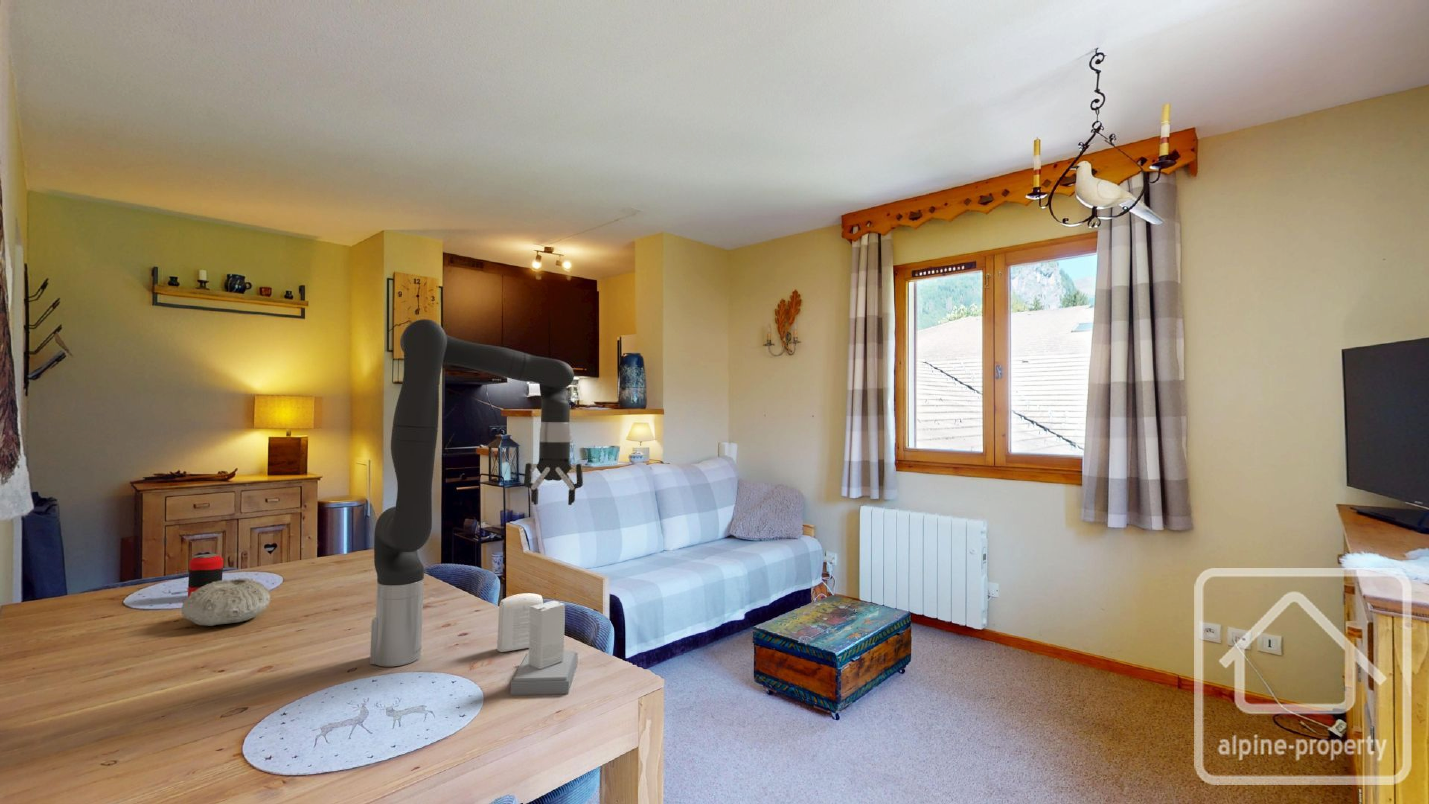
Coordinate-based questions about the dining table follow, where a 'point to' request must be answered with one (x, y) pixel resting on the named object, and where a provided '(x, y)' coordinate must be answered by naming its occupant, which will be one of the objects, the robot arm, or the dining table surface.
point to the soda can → (204, 571)
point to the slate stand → (545, 677)
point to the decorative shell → (226, 602)
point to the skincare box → (546, 634)
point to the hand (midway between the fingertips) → (553, 504)
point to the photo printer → (515, 621)
